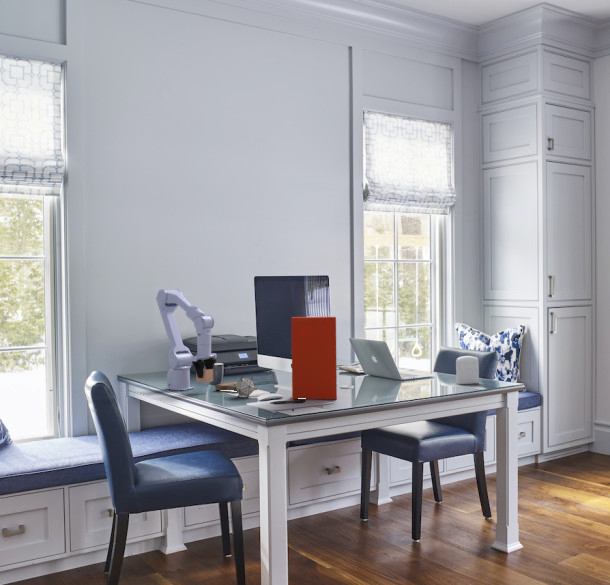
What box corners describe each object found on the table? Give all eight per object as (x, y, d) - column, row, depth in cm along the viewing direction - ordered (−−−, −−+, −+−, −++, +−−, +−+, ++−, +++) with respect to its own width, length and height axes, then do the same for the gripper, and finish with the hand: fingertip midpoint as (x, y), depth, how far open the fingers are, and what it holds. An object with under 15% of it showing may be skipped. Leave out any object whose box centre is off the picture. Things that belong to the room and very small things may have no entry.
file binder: (292, 396, 291) (291, 316, 291) (335, 396, 291) (334, 316, 291) (292, 400, 283) (291, 317, 282) (336, 399, 283) (336, 317, 283)
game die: (250, 406, 292) (265, 386, 292) (238, 401, 286) (253, 381, 285) (237, 393, 298) (251, 373, 298) (225, 388, 291) (240, 368, 291)
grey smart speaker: (458, 384, 321) (458, 356, 320) (454, 383, 325) (454, 355, 325) (480, 383, 322) (480, 356, 322) (476, 382, 327) (476, 355, 327)
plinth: (215, 390, 309) (215, 385, 309) (232, 387, 319) (232, 381, 319) (238, 392, 303) (238, 386, 303) (254, 389, 313) (254, 383, 313)
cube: (196, 381, 303) (196, 369, 303) (203, 380, 308) (203, 368, 308) (205, 382, 301) (205, 370, 301) (213, 381, 305) (213, 369, 305)
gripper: (200, 346, 296) (201, 379, 296) (222, 343, 308) (222, 375, 309) (187, 345, 299) (187, 378, 300) (209, 342, 312) (209, 374, 312)
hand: (204, 377), depth 304 cm, fingers closed on cube, 5 cm apart
